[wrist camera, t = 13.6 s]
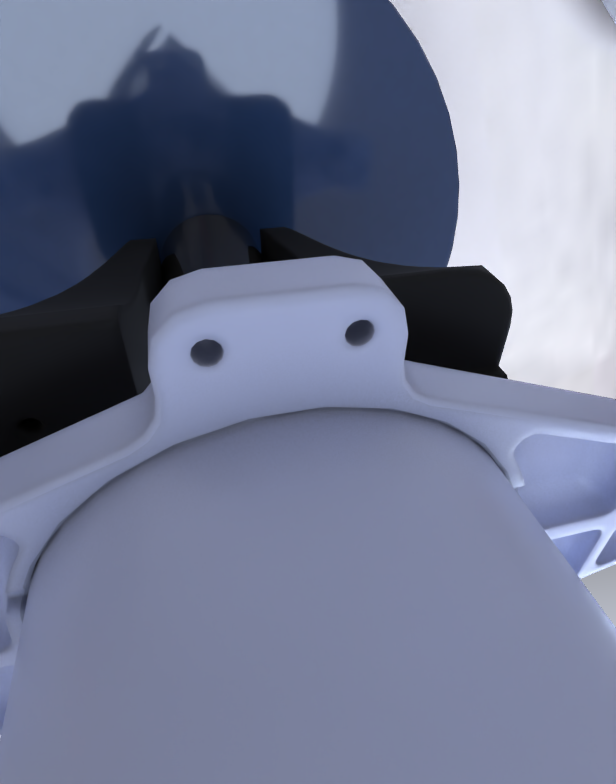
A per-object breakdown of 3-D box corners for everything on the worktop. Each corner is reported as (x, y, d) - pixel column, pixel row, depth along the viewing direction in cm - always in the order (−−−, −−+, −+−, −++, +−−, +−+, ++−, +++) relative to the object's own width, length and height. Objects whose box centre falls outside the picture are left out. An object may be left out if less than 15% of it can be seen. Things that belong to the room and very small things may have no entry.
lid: (258, 479, 21) (283, 592, 17) (-184, 315, 13) (-323, 454, 9) (529, 189, 16) (655, 255, 12) (74, -363, 8) (8, -693, 4)
